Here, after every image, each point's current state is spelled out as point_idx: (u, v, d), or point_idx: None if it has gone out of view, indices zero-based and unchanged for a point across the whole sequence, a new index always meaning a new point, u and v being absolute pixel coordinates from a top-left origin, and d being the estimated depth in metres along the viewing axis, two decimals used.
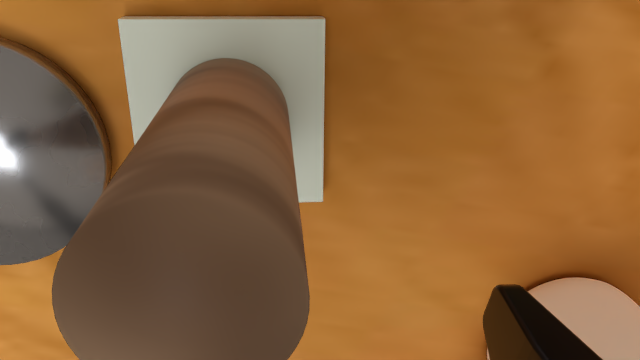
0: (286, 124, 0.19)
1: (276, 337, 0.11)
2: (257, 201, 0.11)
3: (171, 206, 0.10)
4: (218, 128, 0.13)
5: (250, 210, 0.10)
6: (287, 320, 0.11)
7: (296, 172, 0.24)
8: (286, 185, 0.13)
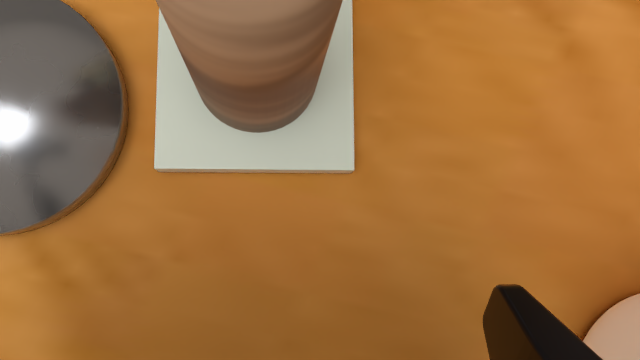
0: None
1: None
2: None
3: None
4: None
5: None
6: None
7: (325, 134, 0.22)
8: None
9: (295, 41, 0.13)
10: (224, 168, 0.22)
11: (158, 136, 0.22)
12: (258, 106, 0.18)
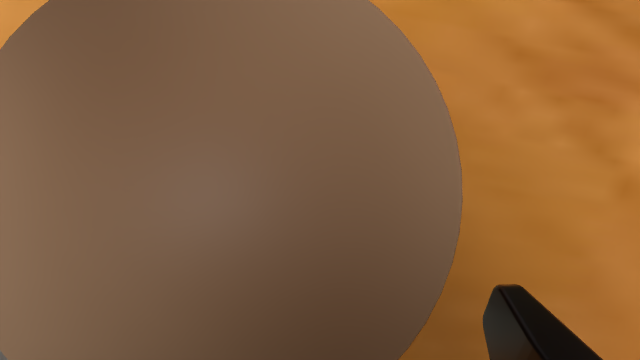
0: None
1: (399, 265, 0.05)
2: None
3: None
4: None
5: None
6: (420, 224, 0.06)
7: None
8: None
9: None
10: None
11: None
12: None
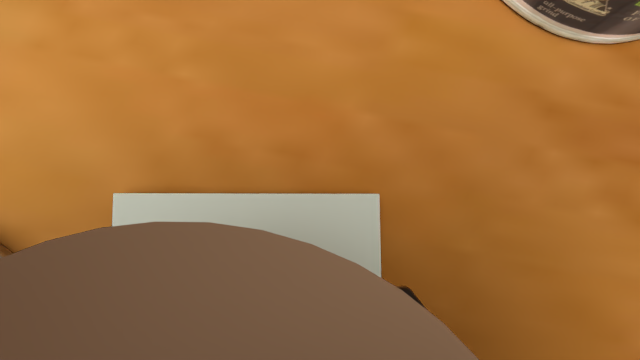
0: None
1: None
2: None
3: (170, 267, 0.03)
4: None
5: (397, 288, 0.03)
6: None
7: None
8: None
9: None
10: None
11: None
12: None
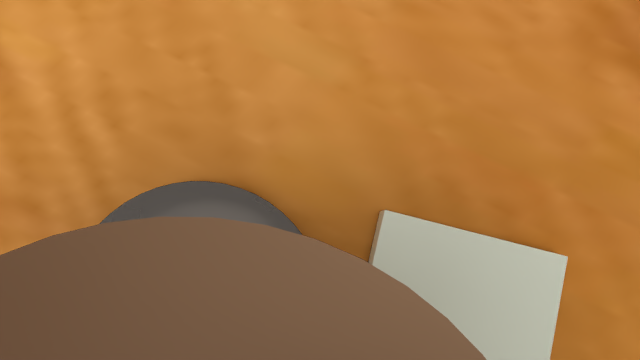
0: None
1: None
2: None
3: (175, 262, 0.03)
4: None
5: (401, 283, 0.04)
6: None
7: None
8: None
9: None
10: None
11: None
12: None
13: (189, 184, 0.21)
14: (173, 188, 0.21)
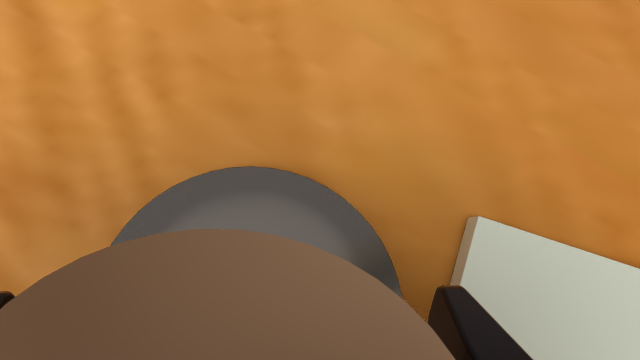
0: None
1: None
2: None
3: (209, 261, 0.05)
4: None
5: (374, 277, 0.05)
6: None
7: None
8: None
9: None
10: None
11: None
12: None
13: (249, 170, 0.18)
14: (230, 173, 0.18)
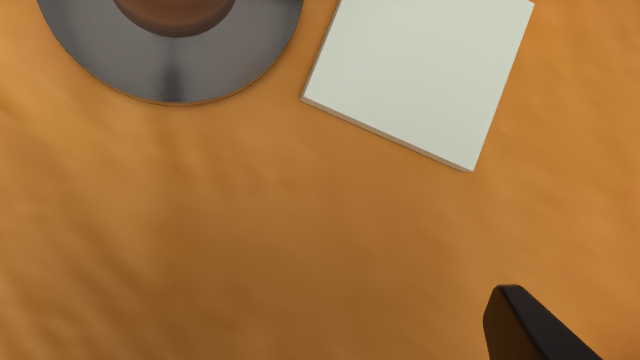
0: None
1: None
2: None
3: None
4: None
5: None
6: None
7: (461, 129, 0.23)
8: None
9: None
10: (364, 122, 0.22)
11: (318, 68, 0.22)
12: (166, 1, 0.16)
13: None
14: None
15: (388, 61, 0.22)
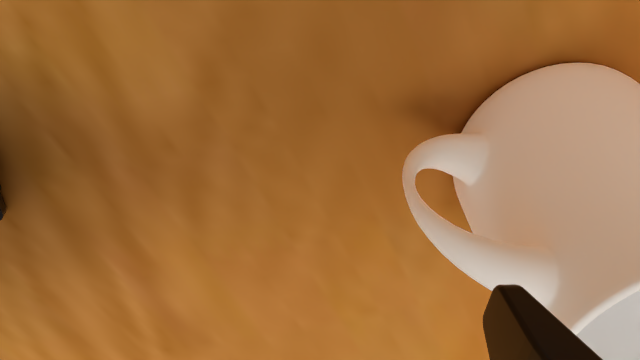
0: None
1: None
2: None
3: None
4: None
5: None
6: None
7: None
8: None
9: None
10: None
11: None
12: None
13: None
14: None
15: None
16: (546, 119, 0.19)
